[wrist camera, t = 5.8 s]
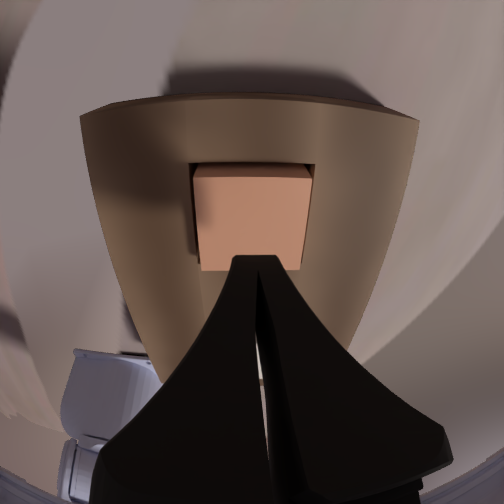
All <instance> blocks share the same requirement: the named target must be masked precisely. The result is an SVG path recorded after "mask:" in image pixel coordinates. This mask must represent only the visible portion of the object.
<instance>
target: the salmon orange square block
mask: <svg viewBox="0 0 504 504" xmlns="http://www.w3.org/2000/svg"><path fill="white" fill-rule="evenodd" d="M193 184H194V197H195V210H196V221H197V232H198V242H199V252H200V262H201V271H229V269H230V266H231V261H232V258H233V257H234V256H235V255H276V256H277V257H278V258H279V259H280V261H281V263H282V265H283V267H284V269H285V270H300V264H301V257H302V251H303V244H304V237H305V230H306V223H307V216H308V209H309V201H310V193H311V185H312V177H311V176H310V174H309V172H308V171H307V169H306V167H305V166H304V164H303V163H283V162H199V164H198V166H197V169H196V172H195V174H194V177H193Z"/></svg>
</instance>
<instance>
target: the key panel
mask: <svg viewBox="0 0 504 504" xmlns="http://www.w3.org/2000/svg"><path fill="white" fill-rule="evenodd" d="M80 123H81V130H82V137H83V144H84V150H85V156H86V161H87V167H88V172H89V176H90V181H91V186H92V190H93V195H94V199H95V203H96V207H97V211H98V215H99V219H100V223H101V227H102V230H103V234H104V237H105V241H106V244H107V247H108V251H109V254H110V257H111V261H112V264H113V267H114V270H115V273H116V276H117V279H118V282H119V285H120V287H121V290H122V293H123V296H124V298H125V301H126V304H127V306H128V309H129V312H130V314H131V317H132V319H133V322H134V324H135V327H136V329H137V331H138V334H139V336H140V338H141V341H142V343H143V345H144V348H145V350H146V352H147V354H148V357H149V359H150V361H151V363H152V365H153V367H154V369H155V371H156V374H157V376H158V378H159V380H160V382H161V383H165V381H166V380H167V379H168V378H169V376H170V375H171V374H172V372H173V371H174V370H175V368H176V367H177V366H178V364H179V363H180V362H181V360H182V359H183V357H184V356H185V355H186V353H187V352H188V350H189V349H190V347H191V346H192V344H193V343H194V341H195V339H196V338H197V336H198V334H199V333H200V331H201V329H202V328H203V326H204V324H205V322H206V320H207V319H208V317H209V315H210V313H211V311H212V309H213V308H214V306H215V303H216V301H217V299H218V297H219V295H220V292H221V290H222V288H223V286H224V283H225V281H226V278H227V275H228V273H229V271H201V262H200V252H199V242H198V232H197V221H196V210H195V197H194V184H193V177H194V174H195V172H196V169H197V166H198V164H199V162H283V163H303V164H304V166H305V167H306V169H307V171H308V172H309V174H310V176H311V177H312V185H311V193H310V201H309V209H308V216H307V223H306V230H305V237H304V244H303V251H302V257H301V264H300V270H286V272H287V274H288V275H289V277H290V279H291V280H292V282H293V283H294V285H295V286H296V288H297V290H298V291H299V292H300V294H301V295H302V297H303V298H304V300H305V301H306V302H307V304H308V305H309V307H310V308H311V309H312V311H313V312H314V313H315V315H316V316H317V317H318V318H319V320H320V321H321V322H322V323H323V325H324V326H325V327H326V328H327V329H328V331H329V332H330V333H331V334H332V335H333V336H334V338H335V339H336V340H337V341H338V342H339V343H340V344H341V345H342V346H343V347H344V348H345V350H346V351H347V349H348V347H349V345H350V343H351V341H352V338H353V336H354V334H355V332H356V330H357V327H358V325H359V323H360V320H361V318H362V316H363V313H364V311H365V308H366V306H367V304H368V301H369V299H370V296H371V294H372V291H373V288H374V286H375V283H376V281H377V278H378V275H379V272H380V270H381V267H382V264H383V261H384V258H385V255H386V252H387V250H388V246H389V243H390V240H391V237H392V234H393V231H394V228H395V224H396V221H397V218H398V214H399V211H400V207H401V204H402V200H403V196H404V192H405V188H406V185H407V180H408V176H409V172H410V168H411V163H412V159H413V154H414V149H415V144H416V139H417V134H418V128H419V123H420V121H419V120H417V119H414V118H412V117H410V116H407V115H405V114H402V113H400V112H397V111H395V110H392V109H390V108H387V107H384V106H379V105H373V104H368V103H362V102H356V101H350V100H343V99H336V98H328V97H320V96H310V95H299V94H285V93H264V92H213V93H193V94H179V95H168V96H158V97H150V98H142V99H135V100H128V101H122V102H116V103H111V104H108V105H106V106H103V107H100V108H98V109H96V110H93V111H90V112H88V113H86V114H83V115H81V116H80ZM259 380H260V386H263V385H264V384H263V379H259Z"/></svg>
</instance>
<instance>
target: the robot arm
mask: <svg viewBox="0 0 504 504" xmlns="http://www.w3.org/2000/svg"><path fill="white" fill-rule="evenodd" d="M255 333H256V336H255ZM256 340H257V346H258V353H259V359H260V365H261V371H262V378H263V384H264V391H265V399H266V415H267V433H268V452H267V445H266V436H265V428H264V418H263V409H262V400H261V391H260V380H259V370H258V359H257V348H256ZM73 353H74V355H75V356H76V358H75V361H74V364H73V367H72V370H71V373H70V376H69V379H68V382H67V385H66V389H65V392H64V395H63V398H62V402H61V411H60V414H61V422H62V425H63V428H64V430H65V431H66V432H67V434H68V435H69V436H71V437H72V438H71V439H70V440H67V441H66V442H65V444H64V447H63V451H62V456H61V460H60V466H59V472H58V480H57V489H58V494H57V496H55V495H52V494H50V493H48V492H45V491H43V490H41V489H39V488H37V487H35V486H33V485H31V484H29V483H27V482H26V480H25V479H23V478H21V477H19V476H17V475H15V474H14V473H12V472H10V471H8V470H6V469H5V468H3V467H1V466H0V504H504V447H503V448H502V449H500V450H499V451H497V452H496V453H494V454H493V455H491V456H490V457H488V458H487V459H486V461H485V462H483V463H481V464H480V465H478V466H477V467H475V468H473V469H471V470H470V471H468V472H466V473H464V474H463V475H461V476H459V477H457V478H455V479H453V480H451V481H450V482H448V483H445V484H443V485H441V486H439V487H437V488H435V489H433V490H431V491H429V492H426V493H424V494H422V495H419V492H418V491H419V490H421V489H423V482H422V477H424V476H427V475H429V474H431V473H433V472H436V471H438V470H440V469H442V468H444V467H446V466H448V465H450V464H451V463H452V462H453V455H452V451H451V448H450V444H449V441H448V438H447V435H446V433H445V430H444V428H443V426H441V425H440V424H438V423H437V422H435V421H433V420H432V419H430V418H428V417H427V416H425V415H424V414H422V413H421V412H419V411H418V410H416V409H414V408H413V407H411V406H410V405H409V404H407V403H406V402H404V401H403V400H402V399H401V398H399V397H398V396H397V395H395V394H394V393H393V392H391V391H390V390H389V389H388V388H387V387H386V386H384V385H383V384H382V383H381V382H380V381H378V380H377V379H376V378H375V377H374V376H373V375H372V374H370V373H369V372H368V371H367V370H366V369H365V368H363V366H361V365H360V364H359V363H358V362H357V361H356V360H355V359H354V358H353V357H352V356H351V355H350V354H349V353H348V352H347V351H346V350H345V348H344V347H343V346H342V345H341V344H340V343H339V342H338V341H337V340H336V339H335V338H334V336H333V335H332V334H331V333H330V332H329V331H328V329H327V328H326V327H325V326H324V325H323V323H322V322H321V321H320V320H319V318H318V317H317V316H316V315H315V313H314V312H313V311H312V309H311V308H310V307H309V305H308V304H307V302H306V301H305V300H304V298H303V297H302V295H301V294H300V292H299V291H298V290H297V288H296V286H295V285H294V283H293V282H292V280H291V279H290V277H289V275H288V274H287V272H286V270H285V269H284V267H283V265H282V263H281V261H280V259H279V258H278V257H277V256H276V255H235V256H234V257H233V258H232V261H231V266H230V269H229V273H228V275H227V278H226V281H225V283H224V286H223V288H222V290H221V292H220V295H219V297H218V299H217V301H216V303H215V306H214V308H213V309H212V311H211V313H210V315H209V317H208V319H207V320H206V322H205V324H204V326H203V328H202V329H201V331H200V333H199V334H198V336H197V338H196V339H195V341H194V343H193V344H192V346H191V347H190V349H189V350H188V352H187V353H186V355H185V356H184V357H183V359H182V360H181V362H180V363H179V364H178V366H177V367H176V368H175V370H174V371H173V372H172V374H171V375H170V376H169V378H168V379H167V380H166V381H165V383H161V382H160V380H159V378H158V376H157V374H156V371H155V369H154V367H153V365H152V363H151V361H150V359H149V357H142V356H131V355H121V354H112V353H103V352H96V351H89V350H82V349H74V351H73ZM74 438H75V439H74ZM76 439H78V440H79V442H78V444H76V443H77V440H76ZM268 453H269V454H268ZM268 455H269V460H268Z"/></svg>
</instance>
